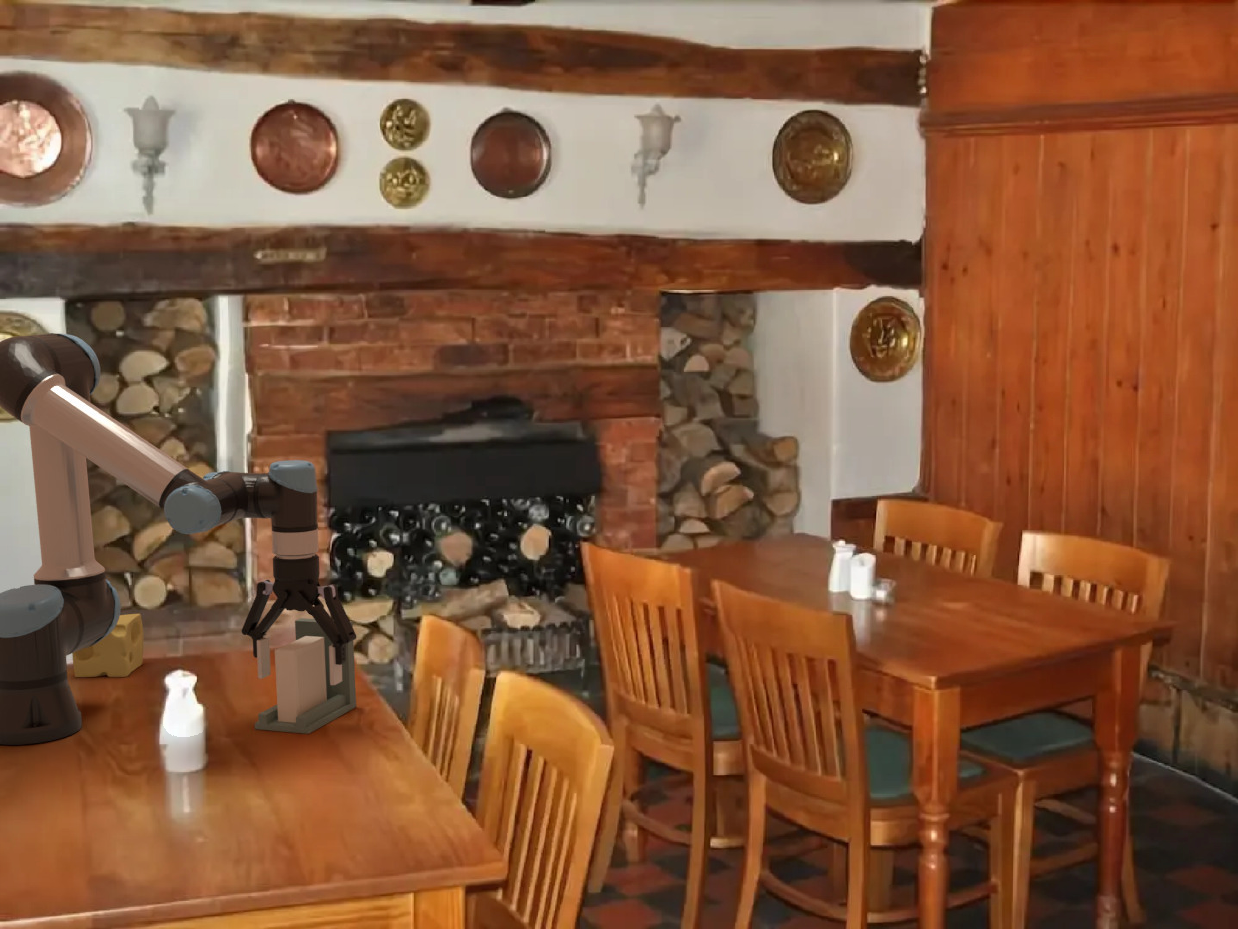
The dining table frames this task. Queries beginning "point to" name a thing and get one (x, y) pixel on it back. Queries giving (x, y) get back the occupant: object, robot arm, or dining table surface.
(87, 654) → the cheese
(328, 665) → the track
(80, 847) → the dining table surface
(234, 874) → the dining table surface
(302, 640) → the door
